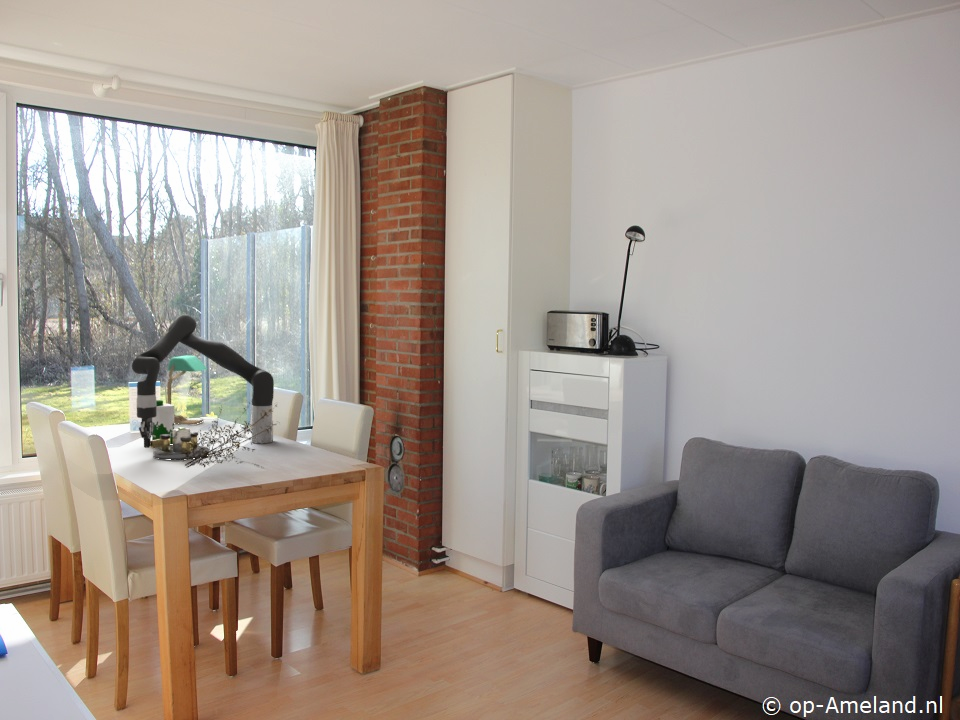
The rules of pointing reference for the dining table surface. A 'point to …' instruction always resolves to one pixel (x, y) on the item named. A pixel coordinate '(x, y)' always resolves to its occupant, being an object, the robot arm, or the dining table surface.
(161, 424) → the milk carton
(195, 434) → the knob near
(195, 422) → the banker's lamp
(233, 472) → the dining table surface
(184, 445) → the knob left
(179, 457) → the base
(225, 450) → the dried plant
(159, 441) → the knob front
